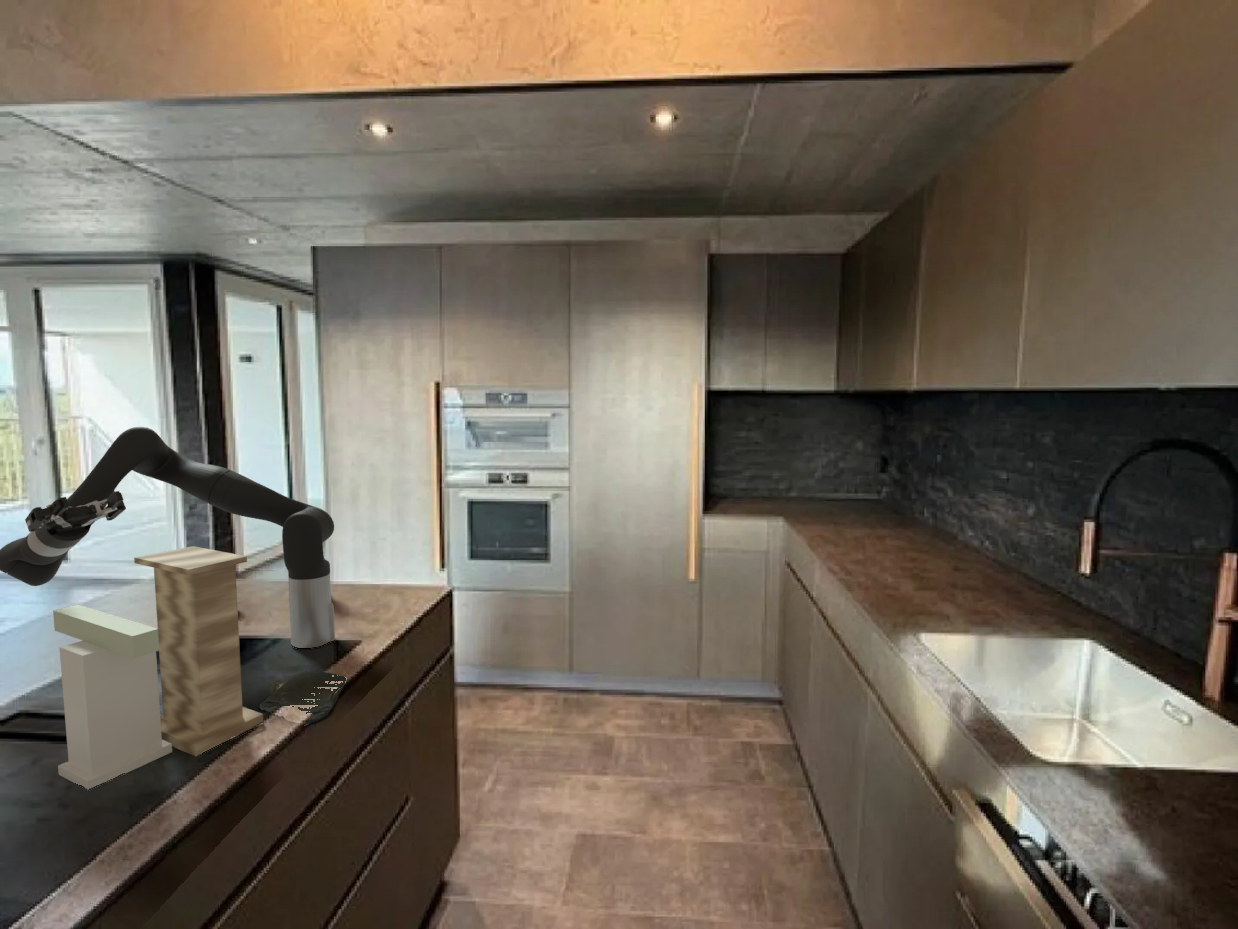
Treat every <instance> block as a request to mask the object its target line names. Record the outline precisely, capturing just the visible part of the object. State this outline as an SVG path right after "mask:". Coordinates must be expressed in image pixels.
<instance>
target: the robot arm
mask: <svg viewBox="0 0 1238 929" xmlns="http://www.w3.org/2000/svg"><path fill="white" fill-rule="evenodd" d="M132 471H133V472H135V473H137V474H139V475H142V476H145V477H148V478H151V479H155V480H158V481H161V482H163V483H167V484H169V485H172V486H174V487H176V488H178V489H180V490H182V491H184V492H186V493H188V494H189V495H191V496H193V497H195V498H196V499H199V500H201V501H203V502H205V503H206V504H209V505H211V506H213V507H215V508H217V509H219V510H222V511H224V512H226V513H229V514H233V515H237V516H241V517H245V518H250V519H256V520H261V521H267V522H270V523H272V524H275V525H277V526H280V527H282V531H281V540H282V551H283V561H284V564H285V565H284V566H285V568H286V569H287V574H288V576H287V577H288V597H289V601H288V602H289V622H290V623H289V625H290V645H291V644H292V645H293V646H295V647H298V648H311V647H317V646H320V645H323V644H326V643H328V642H329V641H331V640H335V641H336V638H335V637H336V636H335V634H336V633H335V631H336V630H335V606H334V603H333V602H332V588H331V587H332V586H331V584H332V582H331V564H330V562H329V560H327V559H325V556H324V545H323V544H324V542H326V541H328V539H329V538H330V537H331V536H332V535H333V533H334V531H335V523H334V519H333V518H332V517H331V515H330V514H329V513H328V512H327V511H326V510H324V509H322V508H319V507H317V506H313V505H311V504H308V503H305V502H302V501H299V500H296V499H293V498H291V497H288V496H286V495H283V494H281V493H279V492H278V491H276V490H274V489H271V488H269V487H267V486H265V485H263V484H260V483H258V482H257V481H254V480H253V479H250V478H249V477H246V476H245V475H242V474H240V473H238V472H236V471H233V470H231V469H229V468H226V467H222V466H219V465H215V464H207V463H203V462H198V461H195V460H193V459H190V458H189V457H188V456H187V457H186V456H185V455H183V454H181V453H179V452H177V451H176V450H174V449H173V448H171V447H170V446H168V444H166V443H165V441H164V440H163V439H162V438H161V436H160V435H159V434H158V433H157V432H156V431H155V430H153V429H152V428H149V427H147V426H134V427H131V428H128V429H125V430H124V431H122V433H120V434H119V435H118V436H117V437H116V438H115V440H114V441H113V442H112V443H111V445H110V447H109V448H108V449H107V450H106V451H105V453H104V454H103V456H102V457H101V458H100V460H99V461H98V462H97V464H96V465H95V466H94V467H93V469H91V471H90V473H89V474H88V475H87V476H86V477H85V479H84V480H83V482H81V484H80V485H79V486H78V487H77V488H76V489H75V490H74V492H72V494H71V495H69V496H68V498H67V497H66V496H59V497H58V499H56V500H54V501H53V502H52V503H50V504H48V505H46V507H45V508H42V507H41V506H36V507H33V508H32V510H31V511H30V512H29V514H28V515H27V516H26V518H25V519H24V520H25V524H26V526H27V529H28V532H29V533H28V534H27V535H26V536H24V537H21V538H18V539H16V540H13V541H11V542H8V543H7V544H5V545H4V546H2V547H1V548H0V572H2V573H4V574H7V575H8V576H11V577H13V578H14V579H17V580H18V581H20V582H23V583H25V584H26V585H28V586H32V587H38V586H39V587H40V586H43V585H44V584H45V585H46V583H49V582H50V581H52V580H53V578H54V577H55V576H56V574H57V573H58V572H59V569H60V568H61V565H62V563H63V562H64V559H65V557H66V556H67V554H68V553H69V551H70V550H71V549H73V548H74V547H75V546H76V545H77V544H78V543H79V542H80V541H81V540H83V539H84V538H85V537H86V536H87V534H88V533H89V532H90V529H91V527H92V525H93V524H94V523H95V522H97V521H98V520H100V519H103V518H106V519H105V520H106V521H108V522H109V521H112V520H115V519H116V518H117V517H118V516H119V515H121V514H122V513H124V511H125V510H127V507H126V506H125V503H124V502H125V501H124V497H123V494H122V492H120V490H116V489H117V487H118V486H119V484H120V483H121V481H122V480H123V479H124V478H125V477H126V476H127V475H128V474H129V473H130V472H132ZM328 644H329V643H328ZM326 645H327V644H326ZM317 648H318V647H317ZM311 649H312V648H311Z"/></svg>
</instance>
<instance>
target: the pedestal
mask: <svg viewBox="0 0 1238 929" xmlns="http://www.w3.org/2000/svg"><path fill="white" fill-rule="evenodd" d="M58 648H59V657H60V672H61V686H62V693H63V694H62V696H63V709H64V710H63V711H64V719H65V720H64V721H65V735H66V745H67V747H66V748H67V758H68V759H67V760H68V761H66V762H62V763H61V764H58V765H57V769H58V770H57V771H58V772H57V773H58V776H60V777H62V778H63V779H66V780H68V781H69V782H71V783H73V784H75V783H76V784H75V785H77V784H78V785H77V786H79V785H82V786H84V787H85V788H87V789H89V788H91V787H93V786H96V785H99V784H101V783H103V782H106V781H107V780H110V779H112V780H114V779H113V778H115V777H117V776H118V775H120V774H122V773H125V774H127V773H129V772H131V771H132V772H133V771H134V770H136V769H138V768H140V767H143V766H145V765H147V764H149V763H151V762H154V761H156V760H157V759H160V758H162V757H164V756H166V755H169V754H170V753H173V746H172V743H169V742H167V741H165V740H162V737H161V721H160V715H161V711H160V709H161V708H160V692H159V691H160V690H159V677H158V675H159V674H158V663H157V662H158V661H157V651H156V652H153V653H150V654H147V655H144V656H141V657H137V658H131V657H128V656H125V655H122V654H119V653H117V652H114V651H111V650H108V649H105V648H102V647H100V646H97V645H94V644H91V643H88V642H85V641H83V640H79V641H76V642H73V643H69V644H66V645H62V646H59V647H58ZM117 778H118V777H117ZM115 779H116V778H115ZM110 781H111V780H110ZM106 783H107V782H106ZM99 786H100V785H99Z"/></svg>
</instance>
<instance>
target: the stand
mask: <svg viewBox="0 0 1238 929" xmlns="http://www.w3.org/2000/svg"><path fill="white" fill-rule="evenodd" d="M133 559H134V564H135V565H141V566H145V567H151V568H153V574H154V576H153V577H154V590H155V592H154V593H155V605H156V606H155V607H156V608H155V610H156V622H157V629H158V638H159V651H158V655H159V670H160V671H159V672H160V682H161V683H160V684H161V687H160V688H161V700H162V701H161V702H162V703H161V704H162V714H160V721H161V737H162V740H165V741H167V742H169V743H172V748H175V749H178V750H179V751H181V752H185V753H187V754H189V755H191V754H192V755H191V756H193V755H195V756H194V757H196V756H197V755H198V754H201V755H203V754H204V753H203V752H205V751H207V750H209V749H211V748H213V747H215V746H217V745H219V744H221V743H222V742H225V741H227V740H228V739H230V738H231V737H233V736H236V735H238V734H240V733H242V732H244V731H245V730H249V729H251V728H252V727H253V726H255V725H257V724H259V723H260V722H262V721H263V722H264V713H261V712H258V711H257V710H252V709H249V708H247V707H246V706H243V693H242V670H241V656H240V655H241V653H240V633H239V632H240V631H239V630H240V629H239V612H238V608H239V607H238V592H237V572H236V571H237V568H236V565H240V564H243V563H248V557H247V555H243V554H235V553H232V552H225V551H221V550H215V549H210V548H205V547H199V546H194V545H193V546H187V547H181V548H178V549H177V548H176V549H171V550H168V551H162V552H161V551H160V552H156V553H151V554H145V555H141V556H135V557H133ZM221 745H222V744H221ZM219 746H220V745H219ZM217 747H218V746H217ZM215 748H216V747H215ZM213 749H214V748H213ZM211 750H212V749H211ZM209 751H210V750H209ZM207 752H208V751H207ZM202 753H203V754H202ZM205 753H206V752H205ZM197 757H198V756H197Z"/></svg>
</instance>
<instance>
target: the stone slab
mask: <svg viewBox="0 0 1238 929" xmlns="http://www.w3.org/2000/svg"><path fill="white" fill-rule="evenodd" d="M336 674H337V673H332V672H329V671H328V672H327V671H319V670H313V669H312V670H311V669H310V670H307V669H306V670H303V671H298V672H295V673H294V674H292V675H291V676H290V677H289V679H287V680H286V681H285V682H283V684H282V685H281V686H280V687H278V688H277V689H276V690H275V692H274V691H273V692H274V693H273V692H272V693H273V694H272V693H271V694H272V695H271V694H270V695H271V696H270V695H269V696H268V697H267V698H266V699H264V700H265V701H264V700H263V701H264V702H263V701H262V702H263V703H262V702H260V704H259V705H262V707H268V708H270V707H274V706H278V707H279V706H280V707H281V706H290V705H318V706H315V707H312V708H311V709H310V707H309V709H307V708H304V709H303V708H300V707H298V709H299V710H301V711H308V712H306V714H307V713H312V714H313V716H311V717H310V719H309V720H308V723H307V724H306V725H305V726H307V725H310V724H312V723H316V722H318V721H320V720H322V719H324V718H325V717H327V716H328V715H329V713H330V712H331V710H332V709H333V708H334V705H336V702H337V701H338V699H339V698H340V695H341V693H342V691H343V690H342V688H341V687H343V685H344V684H345V681H346V678H345V677H344V676H345V675H342V676H339V674H338V676H337V675H336ZM332 675H334V677H332ZM325 681H329V682H328V684H327V683H325ZM331 681H335V682H336V681H337V682H338V681H343V683H342V682H341V683H340V684H338V683H334V684H329V683H330V682H331ZM335 684H337V685H335ZM314 687H315V688H314ZM317 687H338V688H337V689H333V691H331V688H330V689H325V688H321V689H320V688H319V689H318V688H317ZM339 688H341V689H340V690H339V691H338V693H337V694H335V695H334V693H335V692H336V691H337V690H338V689H339ZM341 690H342V691H341ZM340 692H341V693H340ZM311 693H315V696H314V694H311ZM319 693H320V694H319ZM339 694H340V695H339ZM302 699H303V700H302ZM304 699H315V702H313V700H304ZM317 699H318V700H317ZM319 699H320V700H319ZM307 701H309V702H307ZM311 702H312V703H311ZM314 703H315V704H314ZM292 707H294V706H292ZM309 711H310V712H309Z"/></svg>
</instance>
